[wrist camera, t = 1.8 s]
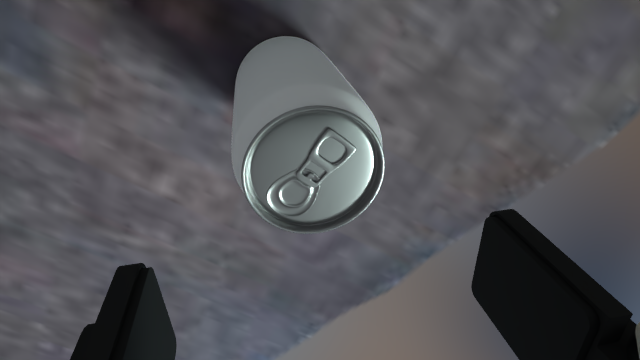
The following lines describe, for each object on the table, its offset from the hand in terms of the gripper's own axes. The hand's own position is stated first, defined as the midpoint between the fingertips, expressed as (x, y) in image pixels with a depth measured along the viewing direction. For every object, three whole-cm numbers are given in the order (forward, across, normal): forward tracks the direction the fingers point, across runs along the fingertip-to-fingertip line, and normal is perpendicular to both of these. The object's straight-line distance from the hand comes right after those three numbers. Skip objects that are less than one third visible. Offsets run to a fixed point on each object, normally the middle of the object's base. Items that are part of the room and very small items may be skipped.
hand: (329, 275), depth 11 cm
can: (+17, -1, -1) cm, 17 cm away
